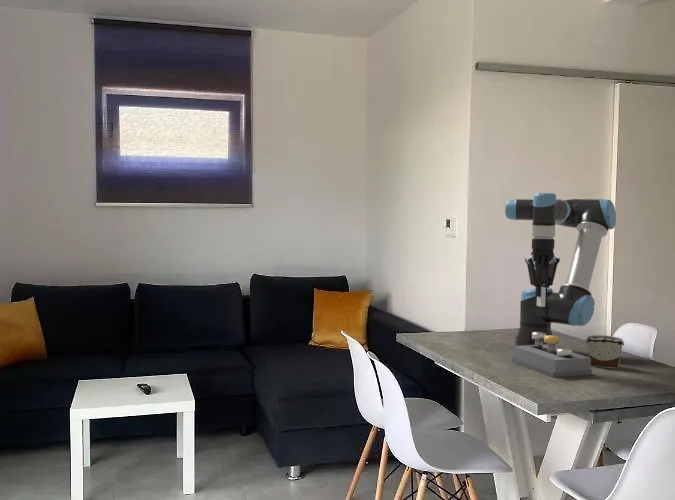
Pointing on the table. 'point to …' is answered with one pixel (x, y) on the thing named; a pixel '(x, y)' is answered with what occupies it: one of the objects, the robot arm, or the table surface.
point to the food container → (604, 350)
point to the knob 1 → (538, 339)
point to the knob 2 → (564, 352)
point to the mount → (551, 362)
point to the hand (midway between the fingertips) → (540, 306)
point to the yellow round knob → (551, 343)
